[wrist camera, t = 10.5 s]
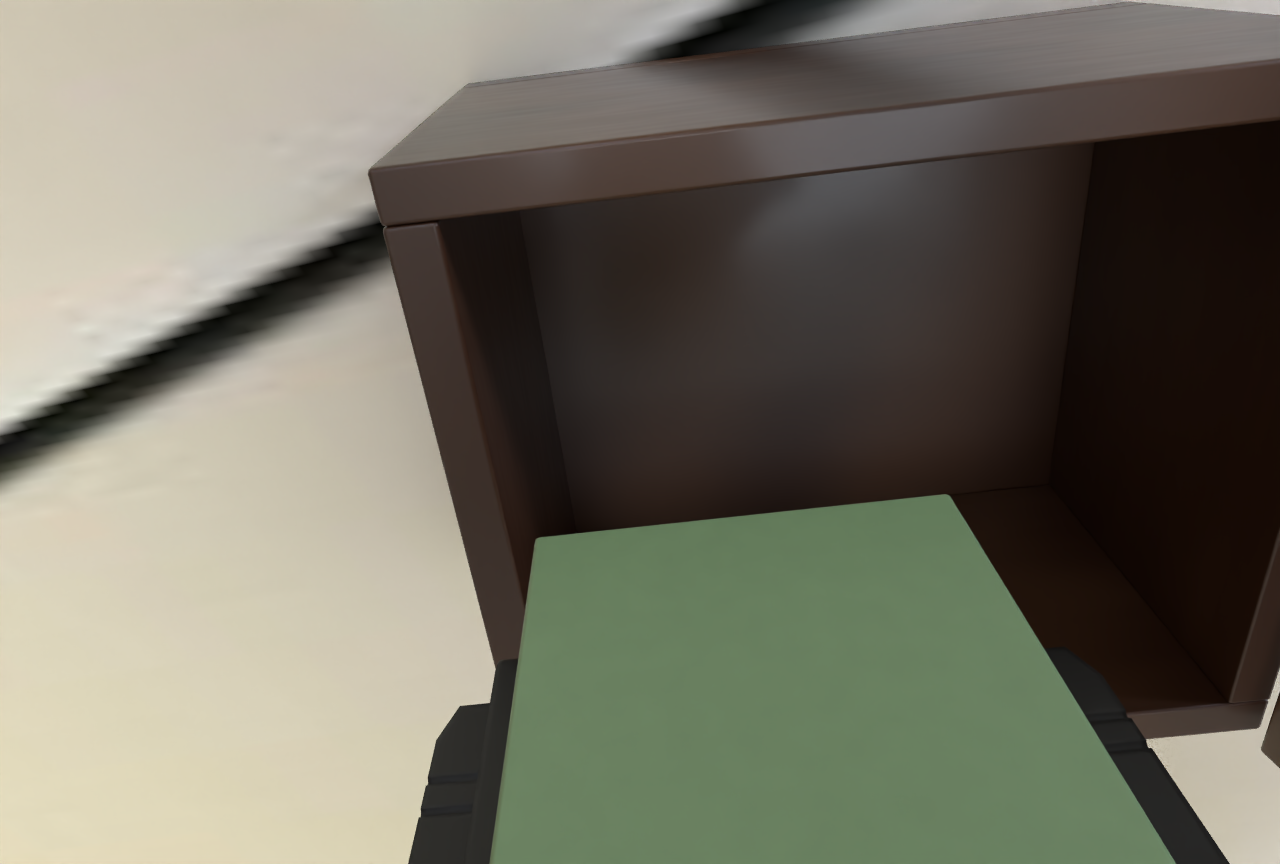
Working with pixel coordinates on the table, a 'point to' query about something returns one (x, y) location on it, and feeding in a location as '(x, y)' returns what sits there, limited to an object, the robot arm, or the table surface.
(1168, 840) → the robot arm
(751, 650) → the block
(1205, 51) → the box
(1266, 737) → the lid
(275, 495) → the table surface
